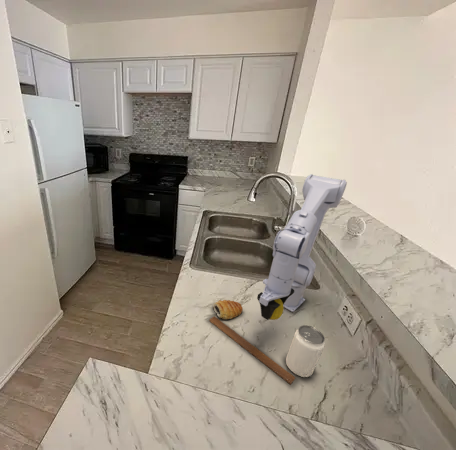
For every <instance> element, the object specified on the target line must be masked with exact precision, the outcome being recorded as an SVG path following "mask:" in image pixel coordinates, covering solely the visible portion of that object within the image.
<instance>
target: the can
mask: <svg viewBox="0 0 456 450" xmlns="http://www.w3.org/2000/svg"><path fill="white" fill-rule="evenodd" d="M292 337H293V338H292V340H291V343H290V346H289V349H288V351H287V354H286V359H285V364H286V366H287V368H288V369H289V370H290V371H291V372H292V373H293V374H295V375H296V376H299V377H301V378H308V377H311V376H312V375H313V373H314V371H315V368H316V367H317V365H318V362H319V360H320V357H321V356H322V353H323V351H324V349H325V345H326V343H325V336H324V333H322V331H321V330H320V329H318V328H316V327H314V326H312V325H308V324H303V325H301V326H299V327H298V329H296V330H295V332H294V334H293V336H292Z"/></svg>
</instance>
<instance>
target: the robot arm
mask: <svg viewBox="0 0 456 450" xmlns="http://www.w3.org/2000/svg"><path fill="white" fill-rule="evenodd" d="M347 184H348V182H347V181H346V179H341V178H340V179H339V178H333V177H327V176H323V175H322V176H321V175H316V174H313V173H310V174H309V175H307V177H306V178H305V180H304V182H303V186H302V189H301V192H302V197H303V200H304V202H303V204H302V206H301V208H300V209H298V210H296V211H294V212H293V214H292V215H291V217H290V219H289V220H288V222H287V223H286V225H285V227H284V228H283V230H282V229H280V230H279V231H278V232H277V234H276V236H275V237H274V241H273V247H272V250H273V251H272V257H273V259H272V262H271V266H270V270H269V274H268V277H267V278H264V279H263V280H262V284H263V285H265V286H264V289H263V292H260V293H258V294H257V297H256V299H257V301H258V303H259V305H260V314H261V317H262V318H263V319H265V320H266V321H269V320H270V318H271V316H272V314H273V312H274V311H275V309H276V308H278V307H279V306H280V304H278V303H277V302H275V299H278V298H280V299H281V301H282V302H283V306H284V308H285V309H286V310H288V311H290V312H293V313H294V312H295V311H296V310H297V309H298V308H299V307H300V306H301V305H302V304H304V302H305V301H306V298H304V295H305V292H306V288H307V287H309V286H310V285H311V284H312V283H311V282H312V280H313V278H314V276H315V273H316V269H317V265H316V263H315V261H314V260H313V259H312V257H311V253H312V251H313V248H314V246H315V243H316V240H317V237H318V235H319V231H320V230H321V226H322V224H323V221H324V218H325V216H326V214H327V213H328V211H329V210H330V209H333V208H334V209H335V208H337V207H338V206H340V203H341V200H342V198H343V195H344V194H345V191H346V188H347Z"/></svg>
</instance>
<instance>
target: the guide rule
mask: <svg viewBox="0 0 456 450" xmlns="http://www.w3.org/2000/svg"><path fill="white" fill-rule="evenodd" d="M208 321H209V322H210V323H211V324H212V325H214V326H215V327H216V328H218V329H219V330H220V331H221V332H223V333H224V334H225V335H226V336H228V337H229V338H230V339H231V340H232V341H234V342H235V343H237V345H240V347H242V348H243V350H246V351H247V352H248V353H249V354H251V355H252V356H253V357H254V358H255V359H257V360H258V361H260V362H261V363H262V364H263V365H265V366H266V367H267V368H268V369H270V370H271V372H273V373H275V374H276V375H277V376H278V377H280V378H281V379H282V380H283V381H285V382H286V383H287V384H289V385H290V386H291V385H292V384H293V382H294V381H295V380H296V376H294V375H293V374H292V373H290V372H289V371H287V369H285V368H284V367H282V366H281V365H280V364H278V363H277V362H276V361H274V360H273V359H272V358H270V357H269V356H268V355H266V354H265V353H264V352H262V351H261V349H258V348H257V347H256V346H255V345H253V344H252V343H251V342H249V341H248V340H247V339H245V338H244V337H242V336H241V335H240V334H239V333H237V332H236V331H235V330H234V329H232V328H230V327H229V326H228V325H227V324H225V323H224V322H223V321H221V320H220V319H219V318H217V317H216V316H212V317H211V318H209V320H208Z"/></svg>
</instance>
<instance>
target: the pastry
mask: <svg viewBox="0 0 456 450" xmlns="http://www.w3.org/2000/svg"><path fill="white" fill-rule="evenodd" d="M212 307H213V310H214V312H215V313H216V315H217V317H218V318H220V319H222V320H232V319H234V318H236V317H238V316H240V315H241V314H242V313H243V306H242V304H241V303H240V302H238V301H234V300H230V299H228V300H227V299H223V300H222V299H219V300H218V301H216V302H214V303H213V305H212Z"/></svg>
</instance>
